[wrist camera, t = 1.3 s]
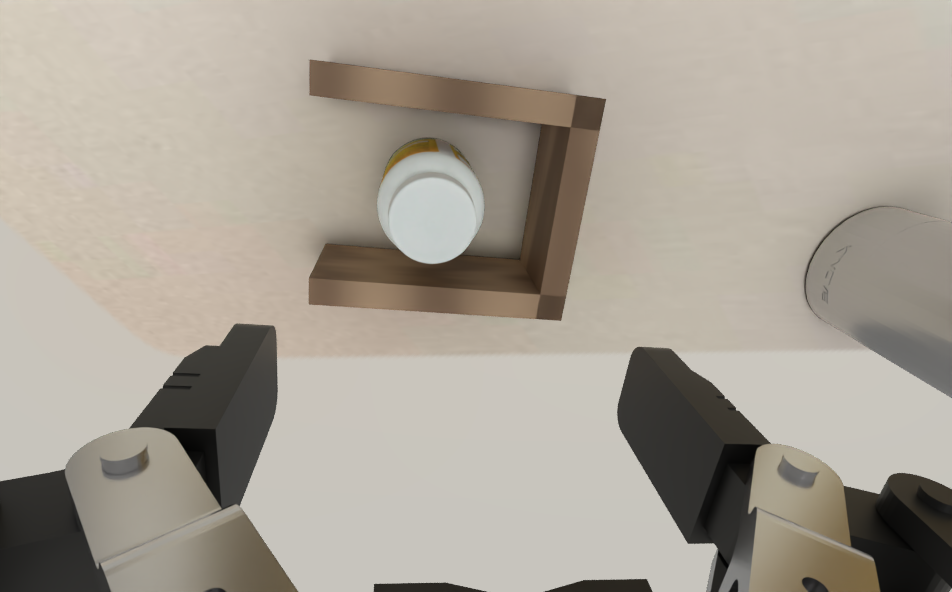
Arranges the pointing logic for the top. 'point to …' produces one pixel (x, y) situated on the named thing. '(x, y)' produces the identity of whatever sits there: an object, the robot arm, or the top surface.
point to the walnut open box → (466, 277)
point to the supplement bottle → (430, 201)
